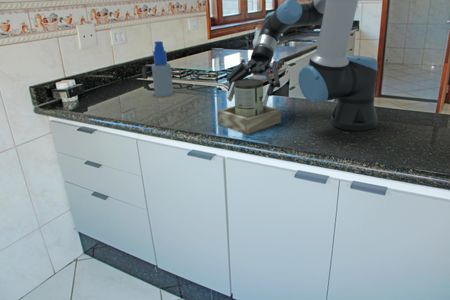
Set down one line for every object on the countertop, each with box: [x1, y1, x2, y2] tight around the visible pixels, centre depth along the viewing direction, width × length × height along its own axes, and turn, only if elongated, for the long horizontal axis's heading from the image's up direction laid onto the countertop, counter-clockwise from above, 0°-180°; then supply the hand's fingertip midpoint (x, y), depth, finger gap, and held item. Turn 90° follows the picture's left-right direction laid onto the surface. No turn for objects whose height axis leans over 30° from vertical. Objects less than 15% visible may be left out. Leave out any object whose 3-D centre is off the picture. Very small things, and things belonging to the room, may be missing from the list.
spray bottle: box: [151, 41, 174, 98], centre depth 179 cm, size 9×9×25 cm
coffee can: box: [234, 78, 264, 118], centre depth 132 cm, size 10×10×14 cm
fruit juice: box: [252, 24, 271, 81], centre depth 203 cm, size 9×9×28 cm
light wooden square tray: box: [217, 104, 282, 135], centre depth 134 cm, size 16×16×5 cm
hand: (246, 101), depth 130 cm, fingers open, 13 cm apart
